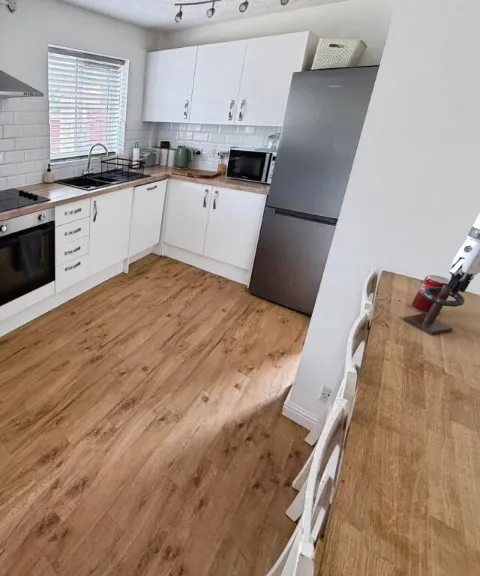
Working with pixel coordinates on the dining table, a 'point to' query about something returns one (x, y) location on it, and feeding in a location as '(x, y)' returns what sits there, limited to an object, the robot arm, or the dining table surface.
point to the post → (432, 316)
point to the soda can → (431, 281)
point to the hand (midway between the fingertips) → (454, 290)
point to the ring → (443, 302)
